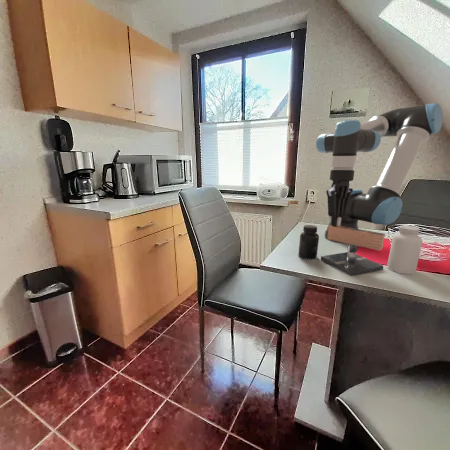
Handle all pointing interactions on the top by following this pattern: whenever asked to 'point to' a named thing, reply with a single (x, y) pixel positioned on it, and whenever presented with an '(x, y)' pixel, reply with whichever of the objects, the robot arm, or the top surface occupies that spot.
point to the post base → (351, 263)
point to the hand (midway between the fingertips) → (334, 234)
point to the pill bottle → (405, 250)
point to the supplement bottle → (308, 242)
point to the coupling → (356, 237)
